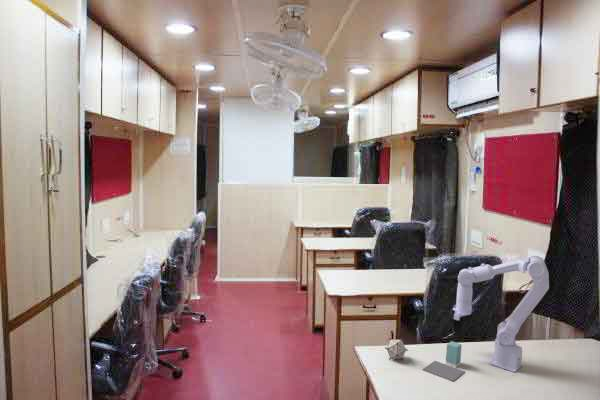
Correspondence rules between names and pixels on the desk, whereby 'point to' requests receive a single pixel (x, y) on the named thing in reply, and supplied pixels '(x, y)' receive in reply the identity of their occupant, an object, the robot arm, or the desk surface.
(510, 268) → the robot arm
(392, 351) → the game die
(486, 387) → the desk surface
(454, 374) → the pad
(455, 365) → the teal block
